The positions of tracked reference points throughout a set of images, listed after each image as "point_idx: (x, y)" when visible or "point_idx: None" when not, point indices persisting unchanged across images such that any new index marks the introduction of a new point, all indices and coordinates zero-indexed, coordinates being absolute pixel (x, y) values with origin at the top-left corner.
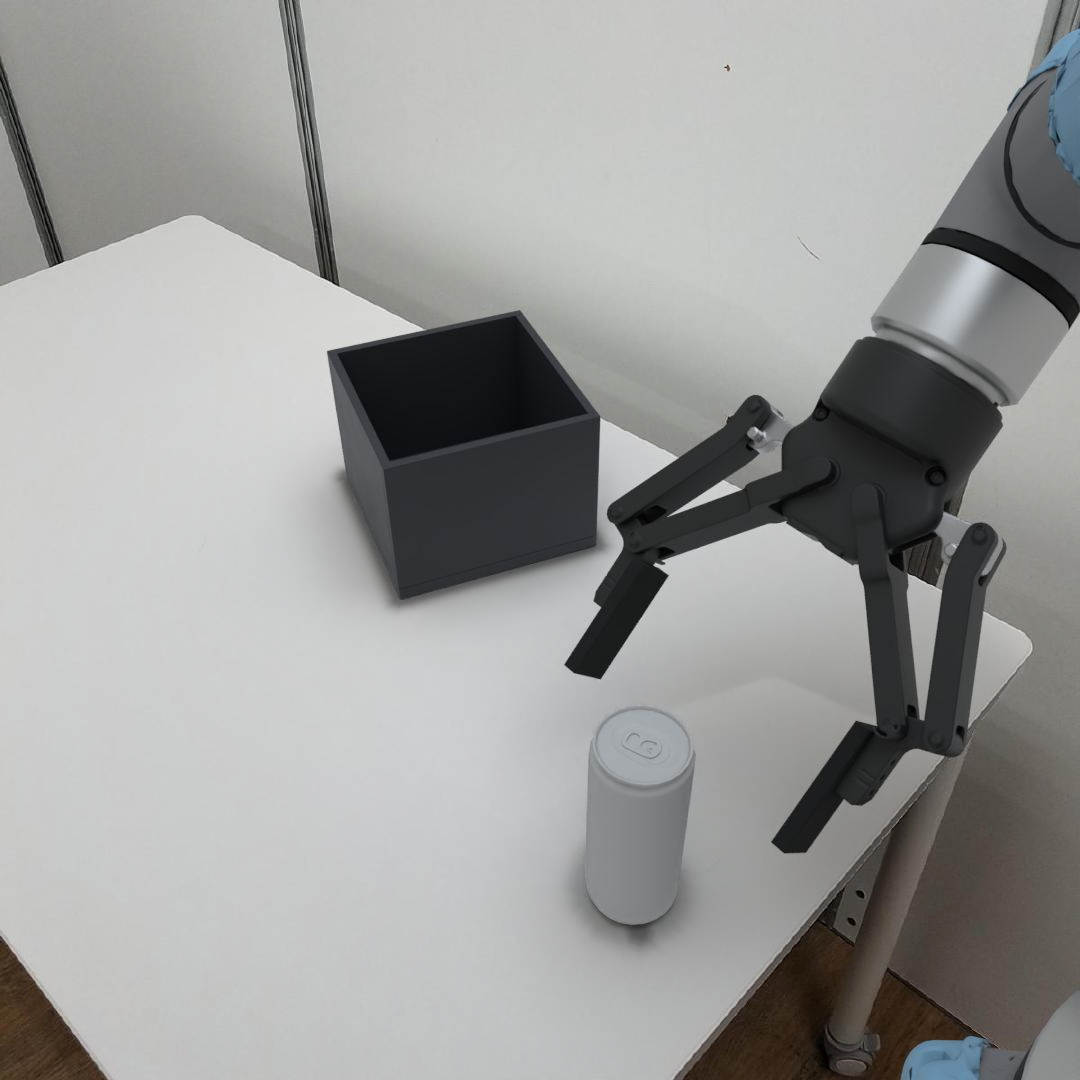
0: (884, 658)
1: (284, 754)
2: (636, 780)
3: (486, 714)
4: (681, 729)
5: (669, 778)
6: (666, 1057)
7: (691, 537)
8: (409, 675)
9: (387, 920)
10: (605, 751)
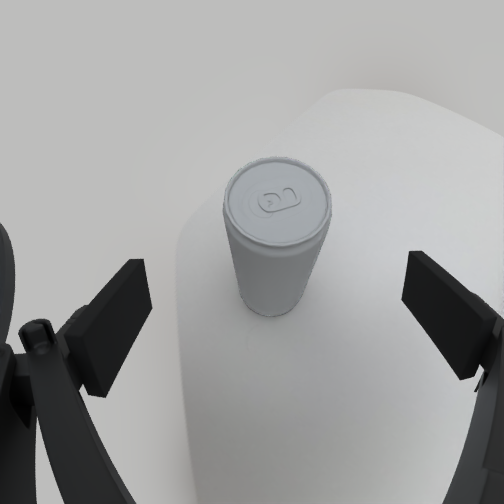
0: (57, 406)
1: (452, 191)
2: (249, 172)
3: None
4: (267, 240)
5: (227, 188)
6: (180, 234)
7: (491, 389)
8: (478, 273)
9: (338, 174)
10: (294, 170)
